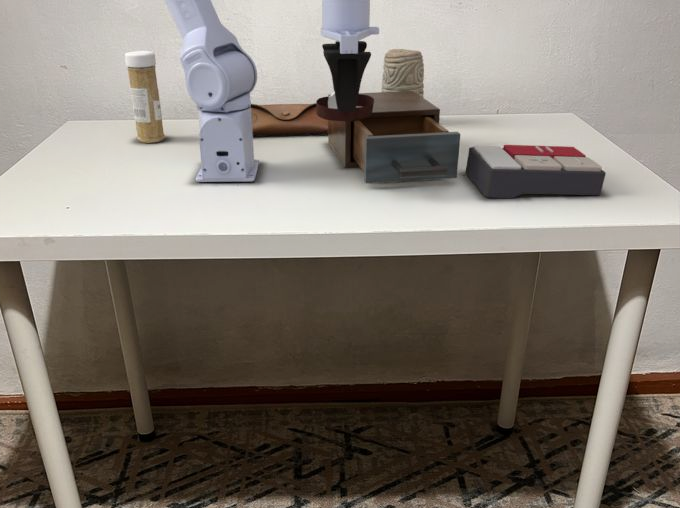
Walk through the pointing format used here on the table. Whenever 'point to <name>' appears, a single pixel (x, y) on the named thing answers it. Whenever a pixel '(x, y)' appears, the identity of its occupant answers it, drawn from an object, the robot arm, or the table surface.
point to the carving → (403, 71)
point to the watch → (329, 111)
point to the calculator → (533, 171)
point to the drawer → (404, 149)
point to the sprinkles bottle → (145, 96)
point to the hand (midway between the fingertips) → (345, 106)
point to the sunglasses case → (287, 120)
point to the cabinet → (383, 107)
